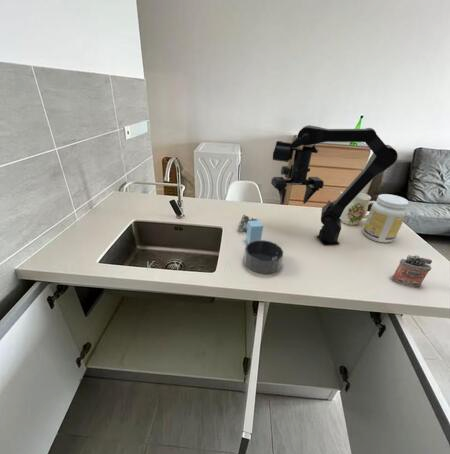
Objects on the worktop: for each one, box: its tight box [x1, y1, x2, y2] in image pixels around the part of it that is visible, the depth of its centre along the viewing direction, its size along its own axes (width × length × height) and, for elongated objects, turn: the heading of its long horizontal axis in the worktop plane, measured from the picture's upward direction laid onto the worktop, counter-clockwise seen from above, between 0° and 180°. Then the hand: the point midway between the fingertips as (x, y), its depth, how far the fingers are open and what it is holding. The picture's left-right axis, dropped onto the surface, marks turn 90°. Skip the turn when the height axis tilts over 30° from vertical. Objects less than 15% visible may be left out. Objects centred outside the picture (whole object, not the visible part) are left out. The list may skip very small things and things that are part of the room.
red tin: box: [390, 254, 433, 289], centre depth 75 cm, size 8×3×10 cm, turn 69°
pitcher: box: [339, 190, 376, 226], centre depth 110 cm, size 11×18×14 cm, turn 82°
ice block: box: [245, 219, 264, 244], centre depth 91 cm, size 4×4×9 cm
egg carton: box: [238, 213, 260, 234], centre depth 103 cm, size 11×8×4 cm
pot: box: [243, 239, 284, 275], centre depth 81 cm, size 12×12×6 cm
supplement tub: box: [362, 193, 410, 243], centre depth 99 cm, size 12×12×17 cm
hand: (293, 203), depth 96 cm, fingers open, 9 cm apart
